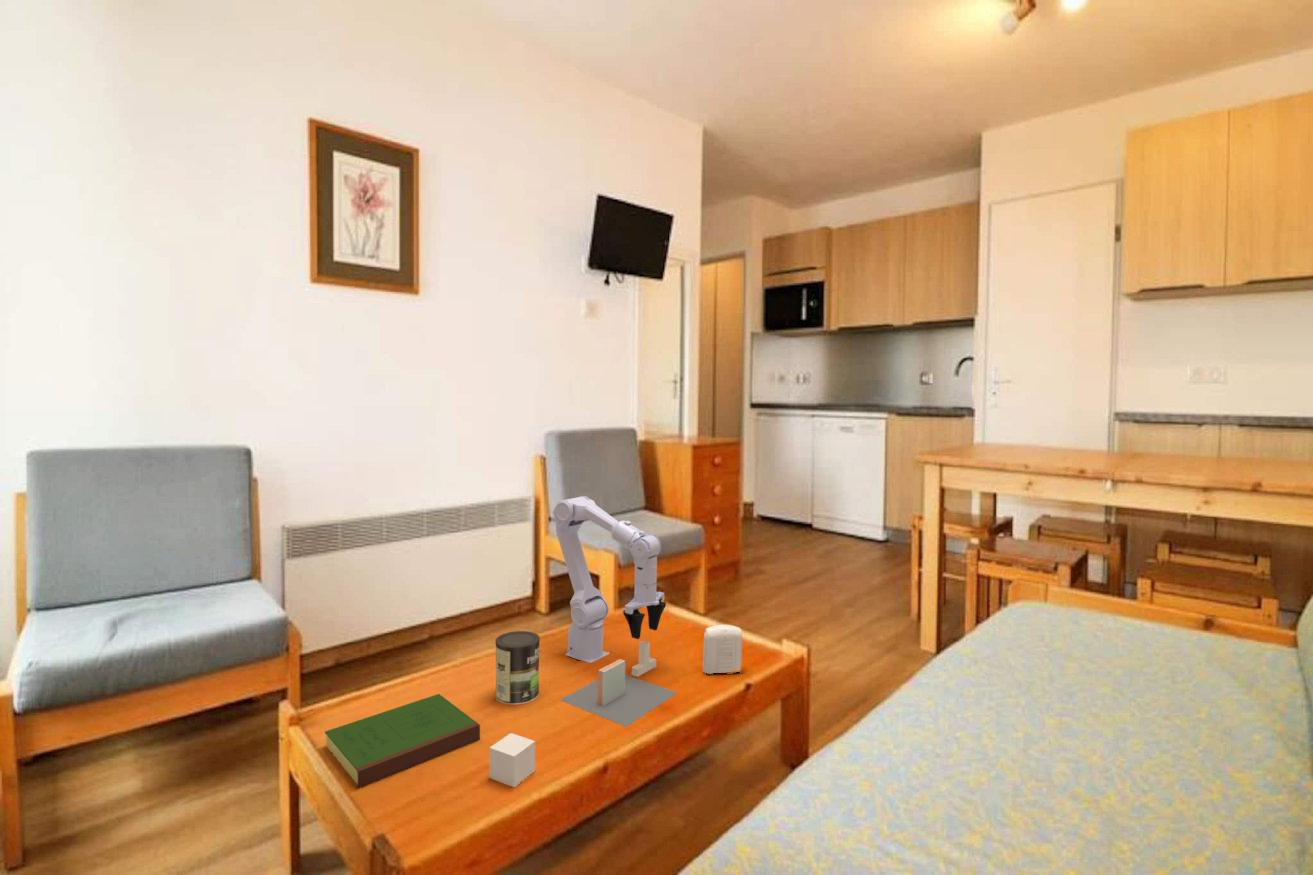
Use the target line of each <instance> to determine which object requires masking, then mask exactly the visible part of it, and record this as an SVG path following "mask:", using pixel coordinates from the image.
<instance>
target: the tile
mask: <svg viewBox="0 0 1313 875" xmlns="http://www.w3.org/2000/svg"><path fill="white" fill-rule="evenodd" d="M625 675H626V660H624V659H621V658H619V659H617V660H615V661H613V662H612V663H610V664H608V665H605V666H603V667H602V668H600V669H598V670H597V680H598V704H600V705H602V706H604V705H606V704H607V703H609V702H611V701H612V700H614V699H616V698H617V697H619V696H621V695H623V694H624V693H625Z"/></svg>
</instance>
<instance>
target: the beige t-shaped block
mask: <svg viewBox="0 0 1313 875" xmlns="http://www.w3.org/2000/svg"><path fill="white" fill-rule="evenodd" d="M650 643H651V642H650V641H646V640H642V641H640V642H639V643H638V663H637V664H635V665H633V666H632V667H631V676H633V677H637V678H638V677H640V676H642V675H644V674H645V673H647V672H649V671H650V670H652V669H657V659H656V658H655V657H654V658H653V657H650V656H651V655H650V653H651V652H650V651H651V650H650V649H651V648H650V647H651V646H650V645H651V644H650Z"/></svg>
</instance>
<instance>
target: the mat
mask: <svg viewBox="0 0 1313 875" xmlns="http://www.w3.org/2000/svg"><path fill="white" fill-rule="evenodd" d="M677 694H678V691H674V690H671V689H668V688H665V687H663V686H661V685H660V686H659V685H656V684H653V683H651V682H647V681H646V680H643V679H639V678H638V677H637V678H635V676H632V675H627V674H625V693H624V694H623V695H621V696H619V697H617V698H616V699H614V700H612V701H611V702H609V703H607V704H606V705H604V706H602V705H600V704H598V679H596V680H594V681H593V682H590V683H588V684H586V685H585V686H582V687H580V688H579V689H577V690H575V691H573V692H572V693H570V694H568V695H566V696H564V697H562V698H561V699H559V701H561V702H564V703H566V704H569V705H571V706H574V707H576V708H579V709H581V710H583V711H586V712H589V713H592V714H593V715H596V716H598V717H601V718H603V719H606V720H607V721H608V720H609V721H611V722H613V723H616V724H618V725H621V726H623V727H626V728H627V727H628V726H630V725H632V724H633V723H635V722H636V721H638V720H639V719H641V718H643V717H644V716H645V715H646V714H648V713H650V712H651V711H653V710H655V709H656V708H657V707H659V706H661V705H662V704H664V703H665V702H666V701H668V700H669V699H670V698H672V697H674V696H675V695H677Z"/></svg>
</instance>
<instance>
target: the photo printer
mask: <svg viewBox="0 0 1313 875" xmlns="http://www.w3.org/2000/svg"><path fill="white" fill-rule="evenodd" d="M742 650H743V632H742V629H741V627H738V626H735V625H731V624H718V625H717V624H716V625H714V626H710V627H707V628H705V630H704V634H703V653H702V654H703V655H702V672H703V673H704V672H705V673H704V674H706V673H707V674H706V675H714V674H713V673H721V672H731V671H739V670H741V671H742V654H743V651H742Z"/></svg>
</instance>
